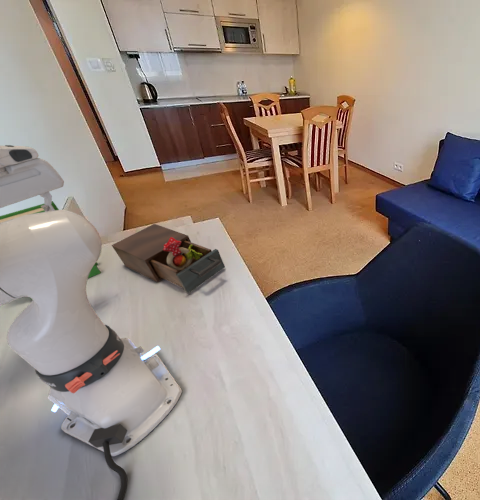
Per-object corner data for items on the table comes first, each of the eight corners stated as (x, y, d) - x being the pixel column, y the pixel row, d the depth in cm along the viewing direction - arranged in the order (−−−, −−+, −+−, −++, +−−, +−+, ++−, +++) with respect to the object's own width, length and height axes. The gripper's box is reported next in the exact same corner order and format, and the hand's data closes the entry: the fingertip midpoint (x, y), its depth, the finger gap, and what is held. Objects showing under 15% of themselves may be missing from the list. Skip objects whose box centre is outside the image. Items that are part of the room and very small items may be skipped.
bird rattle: (197, 275, 94) (207, 248, 95) (164, 270, 84) (176, 240, 84) (183, 269, 96) (194, 243, 97) (150, 264, 86) (162, 234, 87)
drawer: (235, 271, 93) (228, 253, 89) (198, 299, 84) (189, 280, 80) (189, 253, 103) (181, 236, 100) (152, 276, 94) (141, 258, 91)
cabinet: (198, 256, 103) (188, 235, 98) (157, 282, 93) (144, 260, 88) (165, 243, 112) (154, 223, 107) (125, 266, 102) (111, 245, 97)
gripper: (-101, 183, 51) (-34, 249, 59) (43, 146, 65) (82, 204, 73) (-107, 178, 54) (-42, 242, 62) (32, 144, 68) (70, 200, 76)
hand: (26, 221), depth 68 cm, fingers open, 8 cm apart
